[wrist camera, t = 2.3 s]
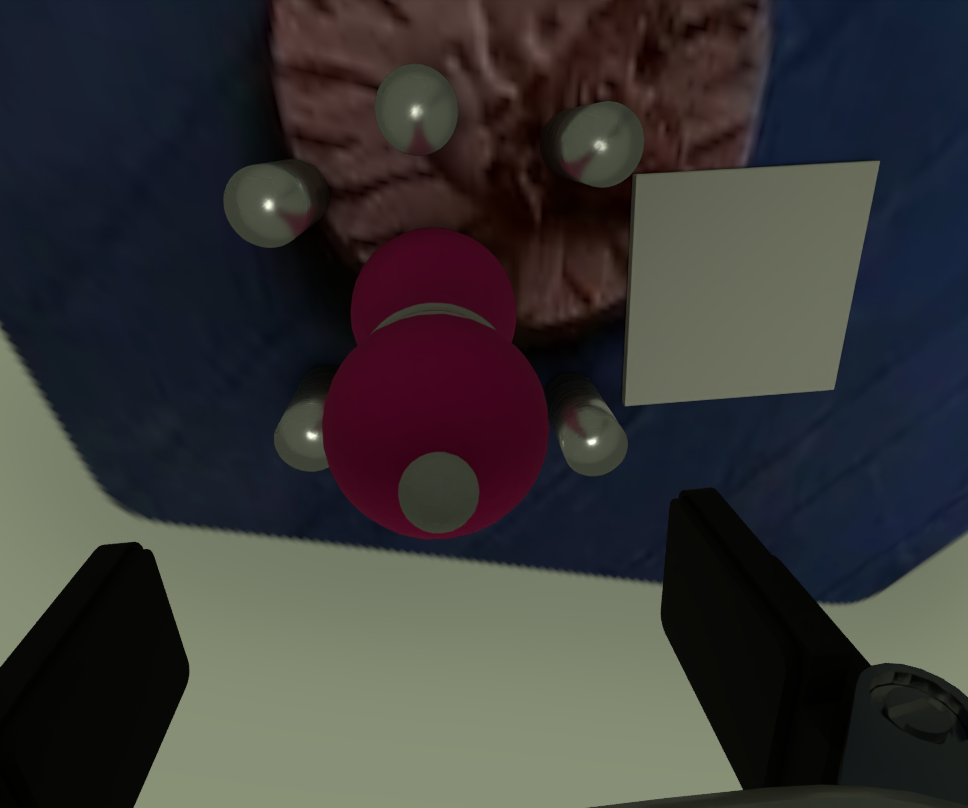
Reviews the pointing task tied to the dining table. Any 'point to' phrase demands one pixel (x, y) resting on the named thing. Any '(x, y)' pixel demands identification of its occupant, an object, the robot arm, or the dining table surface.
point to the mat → (742, 279)
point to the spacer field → (420, 131)
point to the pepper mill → (434, 391)
